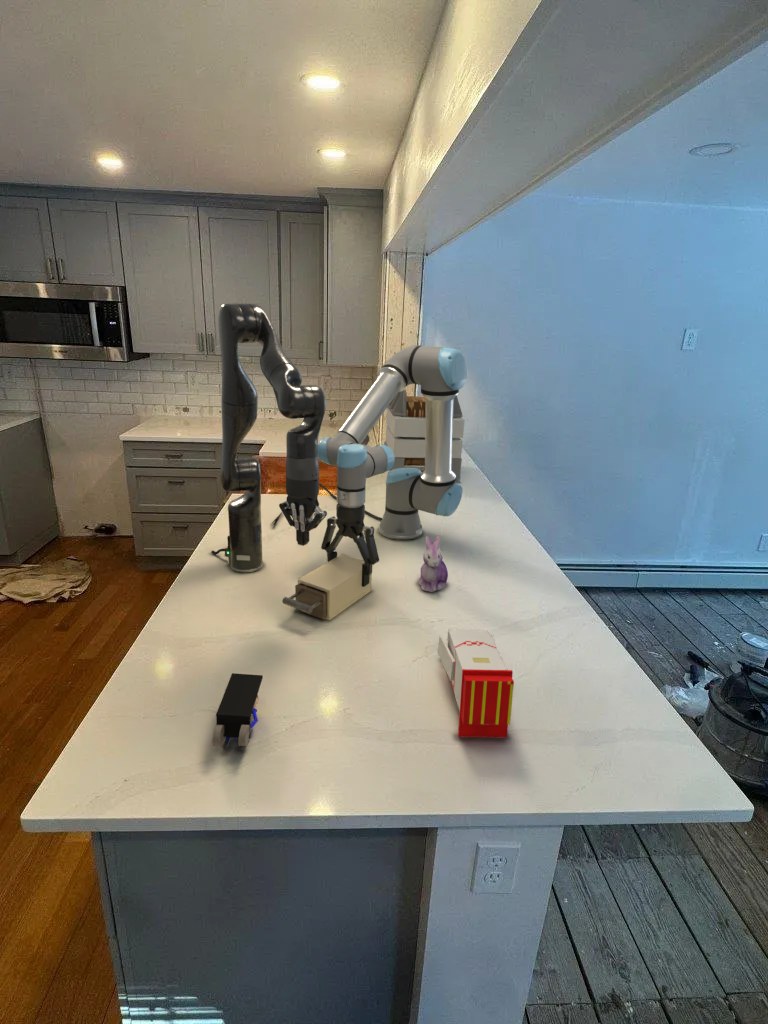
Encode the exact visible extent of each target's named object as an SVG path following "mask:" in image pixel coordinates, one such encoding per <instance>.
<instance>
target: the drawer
mask: <svg viewBox="0 0 768 1024" xmlns="http://www.w3.org/2000/svg"><path fill="white" fill-rule="evenodd" d="M281 603H282V604H283V605H286V606H288V607H291V608H294V609H295V610H298V611H300V612H302V613H305V614H308V615H310V616H313V617H316V618H318V619H320V620H326V619H325V618H326V613H327V592H325V591H322V590H319V589H316V588H313V587H311V586H308V585H305V584H304V586H303V585H300V584H298V583H297V584H296V585H295V586H294V594H292V595H291V596H289V597H287V596H284V597H283V598H282V602H281Z"/></svg>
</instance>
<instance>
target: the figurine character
mask: <svg viewBox="0 0 768 1024" xmlns="http://www.w3.org/2000/svg"><path fill="white" fill-rule="evenodd" d="M263 677H264V675H263V674H252V673H251V674H250V673H237V672H235V673H234V672H232V673H231V675H230V677H229V680H228V682H227V685H226V688H225V690H224V693H223V696H222V698H221V700H220V703H219V706H218V709H217V711H216V713H215V721H216V724H215V726H214V729H213V733H212V736H211V737H212V738H211V745H212V747H221V746H222V749H223V751H226V750H227V749H228V747H229V744H230V739H231V738H232V739H237V741H238V750H239V751H241V750H243V749H244V747H247V745H248V743H249V740H250V739H251V735H252V734H251V733H252V729H253V728H254V727H255V725H256V724H257V723H258V721H259V719H258V716H257V715H258V714H257V713H258V709H257V706H258V704H259V692H260V688H261V684H262V682H263V679H264V678H263ZM251 718H253V720H252V719H251ZM223 741H224V742H223ZM222 744H223V745H222Z"/></svg>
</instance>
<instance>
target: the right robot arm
mask: <svg viewBox="0 0 768 1024" xmlns="http://www.w3.org/2000/svg"><path fill="white" fill-rule="evenodd" d="M467 378H468V363H467V361H466V357H465V355H464V354H463V352H462V351H460V350H459V349H457V348H452V347H447V346H434V345H433V346H431V345H420V344H414V345H409V346H407V347H404V348H402V349H400V350H398V351H397V352H396V353H394V354H393V355H392V356H390V357H389V358H388V360H386V361H385V362H384V363H383V365H381V367H380V368H379V370H378V372H377V378H376V380H375V381H374V382H373V383H372V385H371V387H370V388H369V389H368V390H367V392H366V393H365V395H364V396H363V397H362V398H361V399H360V401H359V403H358V404H357V405H356V406H355V408H354V409H353V411H351V413H350V415H348V417H347V418H346V420H345V421H344V422H343V424H342V425H341V427H340V428H339V429H338V430H337V432H336V433H335V434H334V436H333V437H331V436H329V437H324V438H322V439H321V440H320V441H318V461H320V462H321V463H323V464H326V465H329V466H331V467H336V495H335V494H333V493H332V492H331V491H330V490H329V489H328V488H327V487H326V486H324V485H323V484H322V483H319V487H321V488H322V489H323V490H324V491H326V492H327V494H328V495H330V497H332V498H333V499H334V500H335V501H336V503H337V504H336V515H335V516H336V517H335V516H331V517H329V518H327V519H326V529H325V531H324V534H323V535H324V536H323V539H322V542H321V546H320V549H321V550H322V551H325V552H326V563H327V562H329V561H331V560H332V559H334V558H336V557H338V551H336V550H337V547H338V546H339V544H340V543H341V541H342V539H343V538H344V537H345V538H349V539H352V540H353V542H354V543H355V544H356V547H357V549H358V551H359V553H360V555H361V558H362V560H363V561H364V562H365V563H364V564H362V586H363V587H365V586H366V585H368V584H369V579H370V575H371V574H372V573H373V566H374V565H375V564H377V563H378V562H380V557H379V552H378V548H377V543H376V539H375V526H367V525H365V516H366V515H365V514H367V515H368V516H370V517H371V518H373V519H376V520H379V521H381V522H379V526H378V533H379V534H380V535H381V536H382V537H385V538H387V539H389V540H395V541H410V540H415V539H418V538H420V537H421V536H422V535H423V525H422V524H421V518H420V515H419V511H421V512H425V513H429V514H431V515H432V514H433V515H435V516H440V517H450V516H452V515H453V514H454V513H455V512H456V511H457V509H458V507H459V505H460V503H461V501H462V498H463V497H462V496H463V487H462V484H460V482H459V483H456V475H455V473H454V472H452V470H451V466H452V433H453V401H454V397H455V396H457V397H458V395H459V393H460V390H461V389H462V388H464V386H465V384H466V381H467V380H466V379H467ZM409 385H418V386H420V394H421V396H422V397H425V398H426V415H425V466H424V470H423V471H422V470H421V469H420V468H418V467H404V468H398V469H394V470H391V471H390V469H391V468H392V467H393V465H394V461H395V457H394V453H393V451H392V450H391V449H390V448H389V447H388V446H386V445H384V444H377V445H375V446H373V445H368V444H367V445H362V444H361V443H362V442H363V440H364V439H365V438H366V436H367V435H369V434H370V432H371V431H372V429H373V428H374V427H375V425H376V424H377V422H378V421H379V420H380V419H381V417H382V416H383V414H384V412H385V411H387V407H388V406H389V404H390V403H391V401H392V400H393V399H394V397H395V396H396V394H397V393H398V392H402V391H403V390H406V387H408V386H409ZM386 472H387V475H386V480H385V504H384V505H385V507H384V508H385V509H384V513H383V515H382V517H380V516H377V515H375V514H373V513H371V512H369V511H367V510H366V505H365V503H366V486H367V484H366V481H367V479H369V478H371V477H375V476H378V475H381V474H385V473H386ZM336 526H337V528H338V530H337V531H336V533H335V530H336ZM334 533H335V536H334ZM372 575H373V574H372Z"/></svg>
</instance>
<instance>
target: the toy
mask: <svg viewBox="0 0 768 1024" xmlns="http://www.w3.org/2000/svg"><path fill="white" fill-rule="evenodd" d="M446 640H447V643H446V641H445V639H444V636H443V635H442V634H439V637H438V646H437V656H438V657H439V659H440V661H441V663H442V666H443V668H444V670H445V672H446V674H447V677H448V679H449V681H450V684H451V687H452V690H453V693H454V697H455V701H456V705H457V708H458V711H459V714H458V715H459V716H458V730H457V731H458V732H457V737H458V738H508V731H509V726H510V725H511V717H512V707H513V697H514V696H513V695H514V684H515V680H514V679H513V673H514V671H513V670H512V669H508V667H507V665H506V662H505V661H504V659H503V658H502V655H501V653H500V651H499V649H498V647H497V643H496V639H495V637H494V635H493V634H491V632H490V631H489V629H467V628H466V629H465V628H463V629H461V628H460V629H459V628H448V630H447V639H446Z"/></svg>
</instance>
